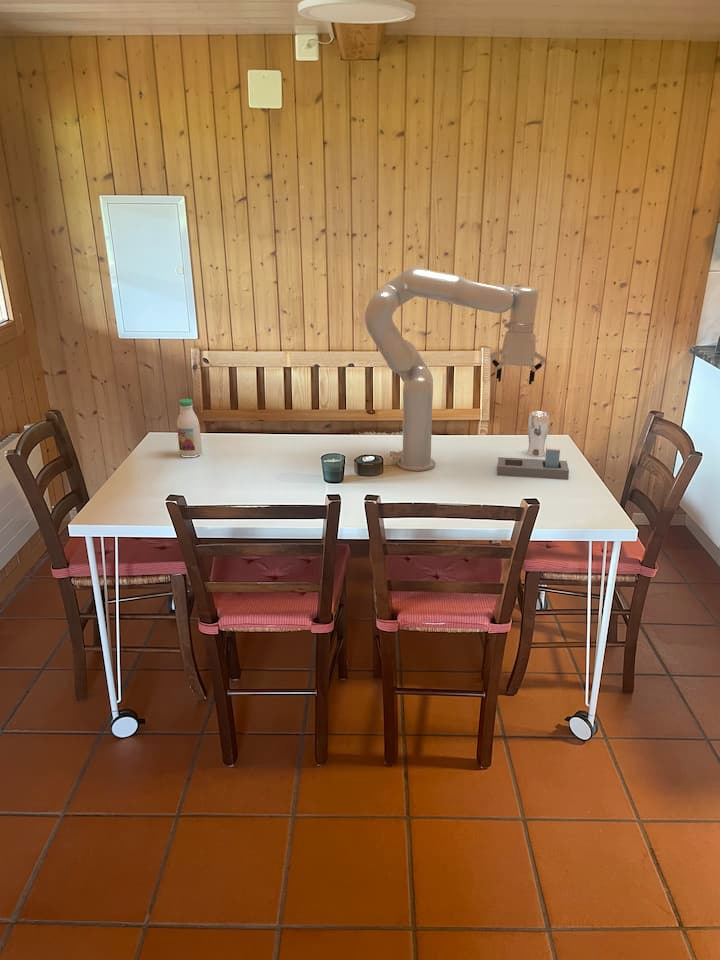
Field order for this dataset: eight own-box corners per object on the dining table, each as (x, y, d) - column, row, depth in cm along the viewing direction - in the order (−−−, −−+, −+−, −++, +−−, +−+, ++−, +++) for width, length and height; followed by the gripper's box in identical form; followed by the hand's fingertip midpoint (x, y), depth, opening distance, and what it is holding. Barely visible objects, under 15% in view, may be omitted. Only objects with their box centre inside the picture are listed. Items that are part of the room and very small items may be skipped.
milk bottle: (192, 449, 252) (186, 396, 244) (206, 453, 248) (201, 399, 240) (175, 455, 246) (169, 400, 239) (190, 459, 242) (184, 404, 234)
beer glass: (548, 453, 244) (552, 412, 239) (542, 459, 239) (546, 417, 233) (529, 450, 248) (533, 409, 242) (522, 455, 242) (526, 414, 237)
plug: (544, 475, 224) (547, 448, 220) (544, 470, 227) (546, 444, 224) (557, 476, 223) (560, 449, 220) (556, 471, 227) (559, 445, 223)
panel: (497, 476, 224) (498, 466, 223) (497, 467, 233) (498, 457, 231) (567, 480, 220) (568, 470, 219) (565, 470, 229) (566, 460, 227)
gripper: (492, 328, 213) (486, 382, 219) (550, 332, 210) (542, 387, 216) (493, 324, 220) (487, 377, 226) (549, 328, 217) (542, 381, 223)
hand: (514, 382), depth 221 cm, fingers open, 9 cm apart
